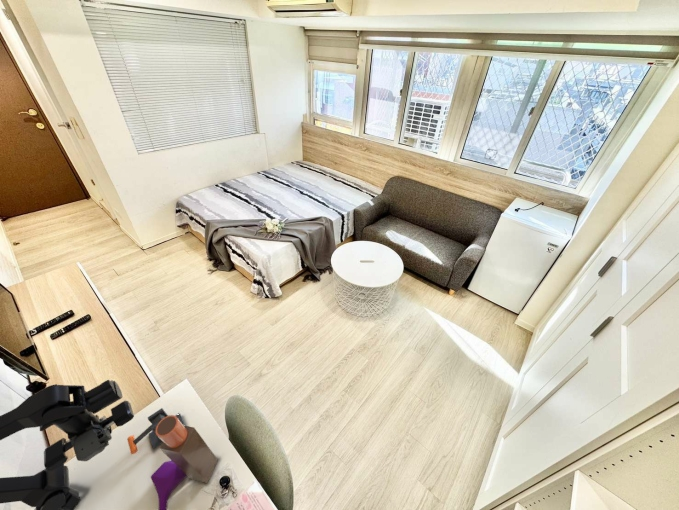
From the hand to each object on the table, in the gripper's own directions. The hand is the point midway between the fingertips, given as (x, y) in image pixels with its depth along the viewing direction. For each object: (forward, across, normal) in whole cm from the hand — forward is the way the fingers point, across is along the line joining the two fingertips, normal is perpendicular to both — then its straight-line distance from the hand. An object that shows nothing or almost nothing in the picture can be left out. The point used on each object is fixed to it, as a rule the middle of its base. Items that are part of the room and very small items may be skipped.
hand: (107, 444), depth 79 cm
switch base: (+13, +12, 0) cm, 18 cm away
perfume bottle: (+8, +12, -14) cm, 20 cm away
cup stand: (+13, +17, -20) cm, 29 cm away
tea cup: (-11, +17, -20) cm, 28 cm away
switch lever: (+7, +8, 0) cm, 11 cm away
